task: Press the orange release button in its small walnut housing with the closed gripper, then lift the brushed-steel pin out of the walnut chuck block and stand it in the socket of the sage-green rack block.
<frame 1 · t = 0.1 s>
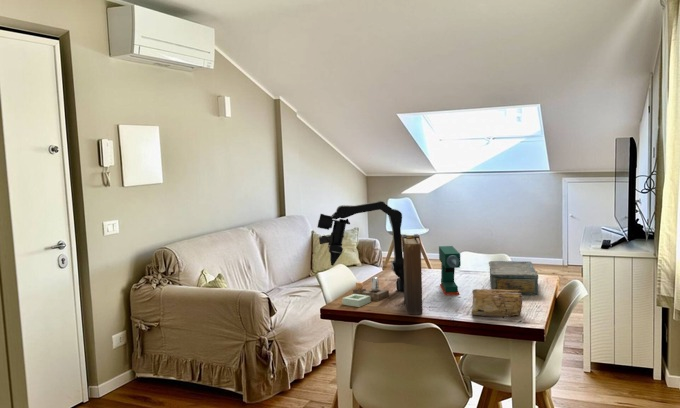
hand: (331, 263, 261), 15 cm above the table, tool pointing down, fingers open, 9 cm apart
chuck block: (375, 297, 253), on the table
power tool: (452, 294, 255), on the table
decorative book: (413, 308, 235), on the table
release button: (359, 286, 259), point 4 cm above the table, slide at 0.0 cm
button housing: (359, 295, 259), on the table
petrified wood: (496, 314, 220), on the table
steel pin: (375, 287, 253), in the chuck block
metal box: (512, 288, 263), on the table
rack block: (356, 304, 244), on the table
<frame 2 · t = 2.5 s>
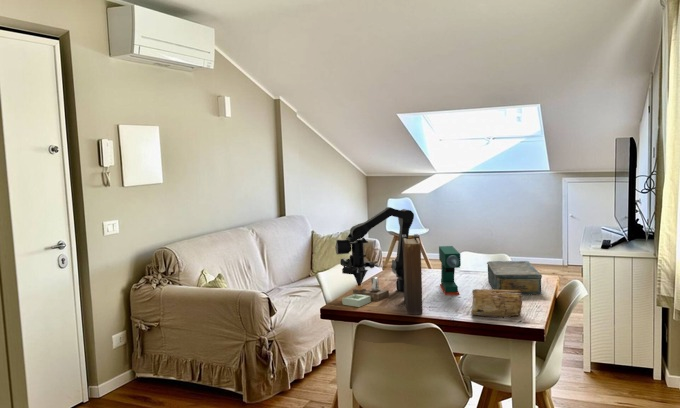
hand: (359, 285, 259), 5 cm above the table, tool pointing down, fingers closed, pressing on release button
release button: (359, 289, 259), point 3 cm above the table, slide at 1.3 cm, touching gripper
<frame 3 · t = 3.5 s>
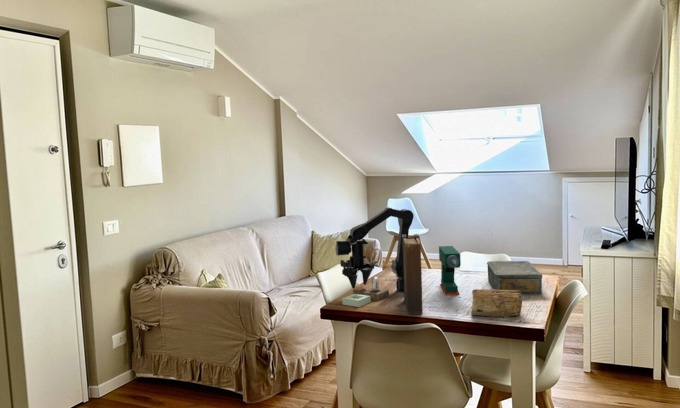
hand: (359, 286, 259), 4 cm above the table, tool pointing down, fingers open, 9 cm apart
release button: (359, 290, 259), point 3 cm above the table, slide at 1.8 cm
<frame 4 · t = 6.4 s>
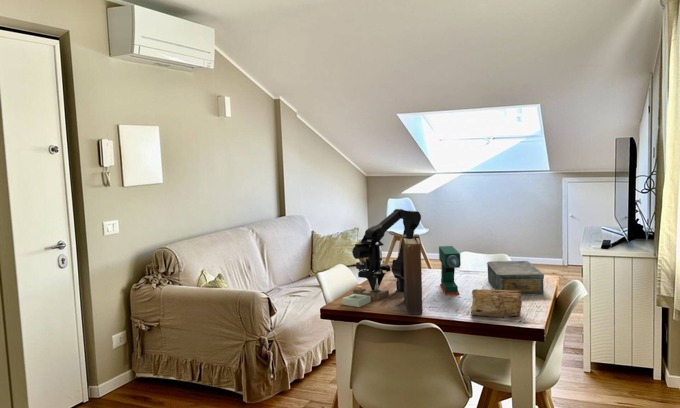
hand: (375, 289, 253), 4 cm above the table, tool pointing down, fingers closed on steel pin, 3 cm apart
steel pin: (375, 287, 253), in the chuck block, touching gripper
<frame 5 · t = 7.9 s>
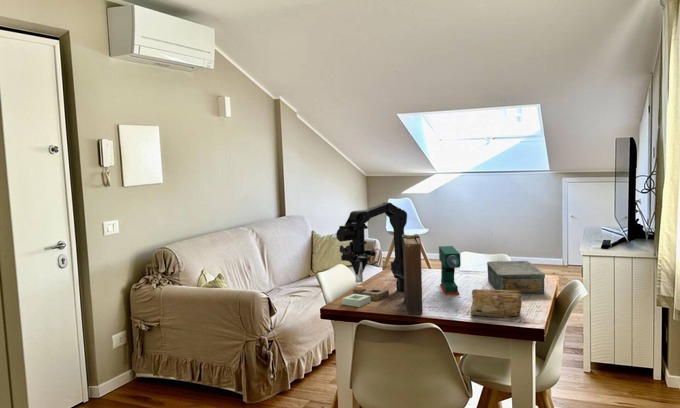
hand: (359, 274, 245), 13 cm above the table, tool pointing down, fingers closed on steel pin, 3 cm apart
steel pin: (358, 272, 245), point 14 cm above the table, touching gripper
when the fingers open (5 cm above the table, at t = 9.7 s): steel pin drops 1 cm, resting on rack block.
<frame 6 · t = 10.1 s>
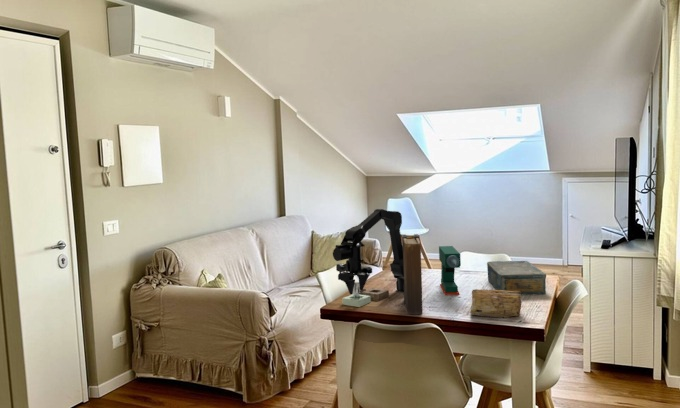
hand: (356, 292, 244), 5 cm above the table, tool pointing down, fingers open, 8 cm apart
steel pin: (356, 293, 244), in the rack block
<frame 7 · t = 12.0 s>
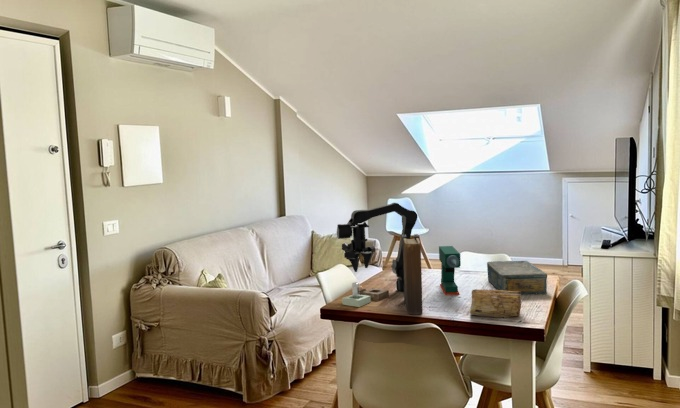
hand: (361, 269, 259), 12 cm above the table, tool pointing down, fingers open, 9 cm apart
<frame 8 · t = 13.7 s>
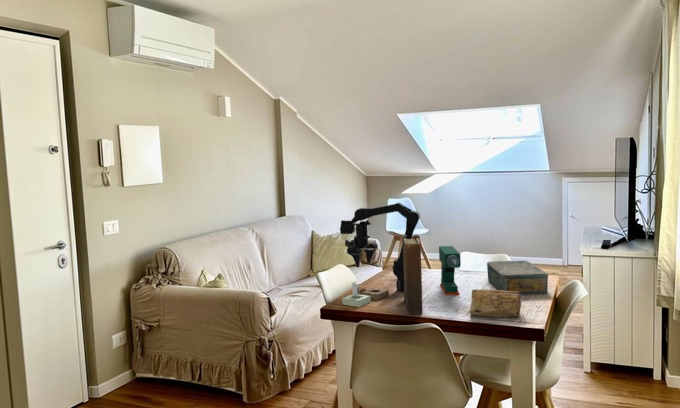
hand: (363, 265, 267), 13 cm above the table, tool pointing down, fingers open, 9 cm apart
at the end: steel pin 0.1 cm off-centre on the rack block, point 4.9 cm above the rack block's base; steel pin tilted 1°; release button slide at 1.8 cm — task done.
